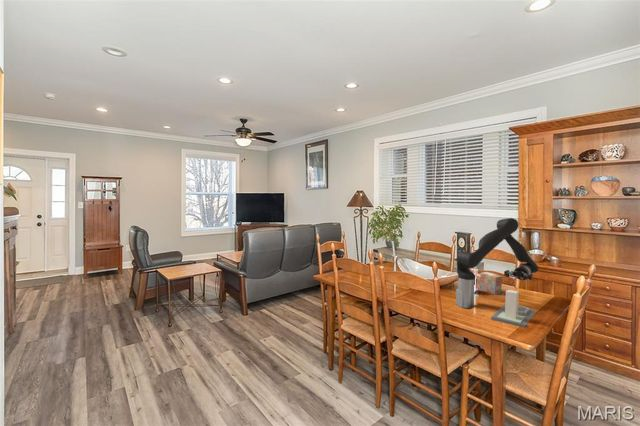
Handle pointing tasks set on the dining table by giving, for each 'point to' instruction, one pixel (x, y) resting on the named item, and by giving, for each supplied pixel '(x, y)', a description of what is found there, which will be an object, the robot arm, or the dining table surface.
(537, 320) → the dining table surface
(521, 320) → the grey tray
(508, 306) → the cream block
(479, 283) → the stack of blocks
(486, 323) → the dining table surface
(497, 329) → the dining table surface
